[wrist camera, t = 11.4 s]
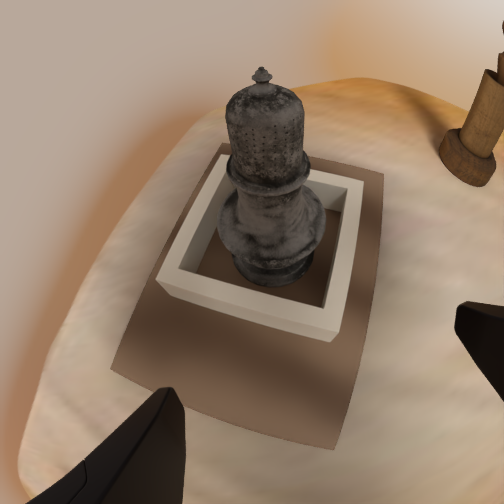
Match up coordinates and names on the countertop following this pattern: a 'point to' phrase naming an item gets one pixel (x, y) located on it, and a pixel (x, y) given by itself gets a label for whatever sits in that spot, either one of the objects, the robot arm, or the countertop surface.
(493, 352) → the robot arm
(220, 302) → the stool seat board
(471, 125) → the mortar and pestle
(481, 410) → the countertop surface
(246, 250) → the salt shaker
